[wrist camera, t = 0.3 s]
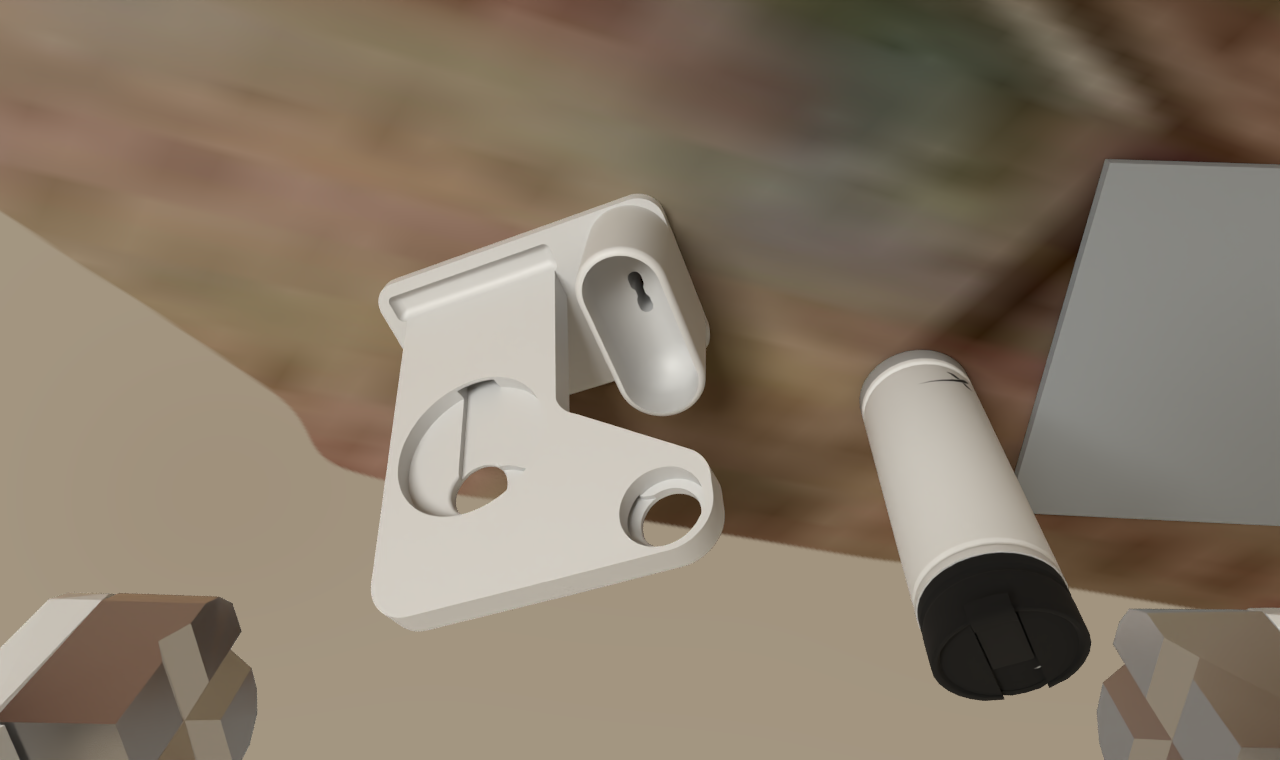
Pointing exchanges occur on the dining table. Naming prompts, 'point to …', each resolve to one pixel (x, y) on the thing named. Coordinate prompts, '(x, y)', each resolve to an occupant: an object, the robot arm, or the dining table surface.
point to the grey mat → (1166, 352)
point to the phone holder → (540, 417)
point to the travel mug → (967, 535)
